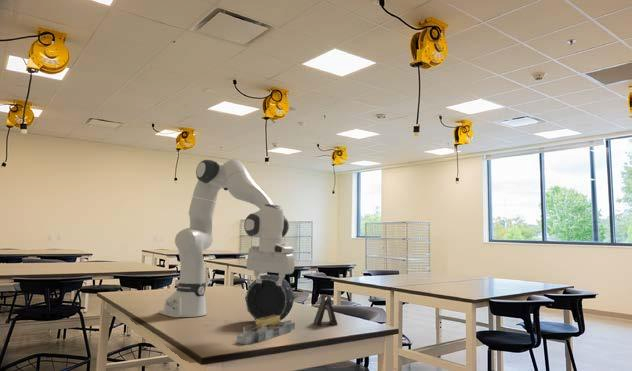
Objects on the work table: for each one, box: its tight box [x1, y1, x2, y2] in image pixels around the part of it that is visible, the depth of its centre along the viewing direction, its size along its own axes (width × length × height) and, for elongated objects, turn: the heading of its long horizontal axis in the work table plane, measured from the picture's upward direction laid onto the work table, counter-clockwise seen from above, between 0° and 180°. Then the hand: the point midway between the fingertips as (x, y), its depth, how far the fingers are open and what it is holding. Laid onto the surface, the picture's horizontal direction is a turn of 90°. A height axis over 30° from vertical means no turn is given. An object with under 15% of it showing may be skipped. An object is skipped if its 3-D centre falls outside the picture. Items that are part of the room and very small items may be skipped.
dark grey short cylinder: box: [244, 274, 295, 322], centre depth 179 cm, size 11×20×20 cm, turn 78°
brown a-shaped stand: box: [313, 293, 338, 326], centre depth 180 cm, size 9×6×12 cm, turn 103°
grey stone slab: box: [236, 319, 296, 346], centre depth 156 cm, size 30×7×4 cm, turn 149°
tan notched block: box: [255, 315, 281, 329], centre depth 156 cm, size 11×3×6 cm, turn 149°
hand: (268, 284), depth 158 cm, fingers open, 8 cm apart
